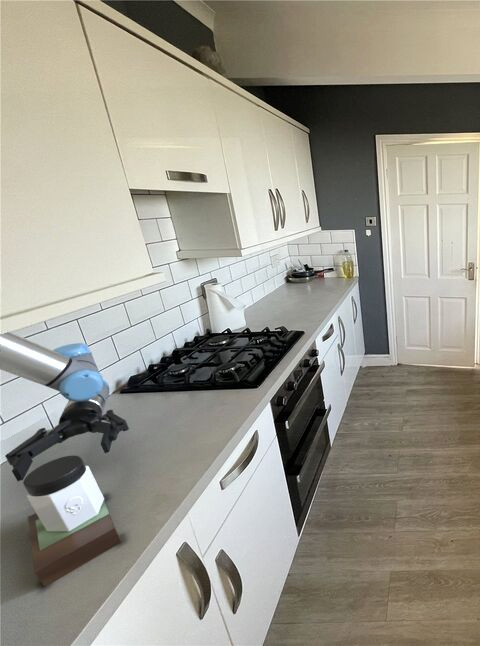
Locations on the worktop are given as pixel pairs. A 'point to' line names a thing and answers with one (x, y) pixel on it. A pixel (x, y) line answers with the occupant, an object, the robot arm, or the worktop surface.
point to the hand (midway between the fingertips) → (63, 461)
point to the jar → (63, 493)
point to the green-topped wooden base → (70, 545)
